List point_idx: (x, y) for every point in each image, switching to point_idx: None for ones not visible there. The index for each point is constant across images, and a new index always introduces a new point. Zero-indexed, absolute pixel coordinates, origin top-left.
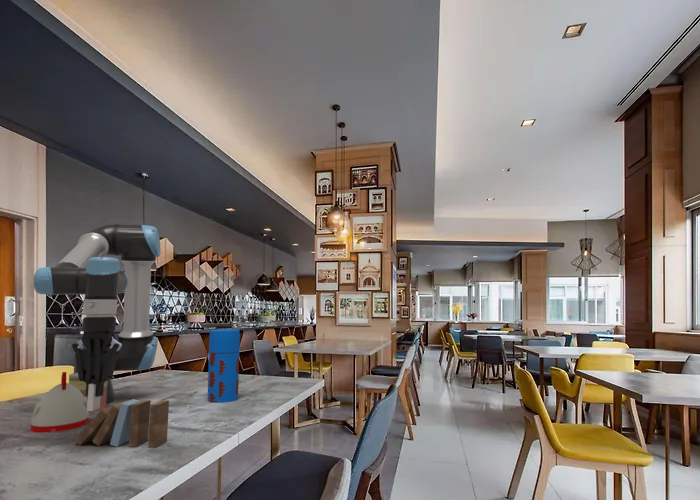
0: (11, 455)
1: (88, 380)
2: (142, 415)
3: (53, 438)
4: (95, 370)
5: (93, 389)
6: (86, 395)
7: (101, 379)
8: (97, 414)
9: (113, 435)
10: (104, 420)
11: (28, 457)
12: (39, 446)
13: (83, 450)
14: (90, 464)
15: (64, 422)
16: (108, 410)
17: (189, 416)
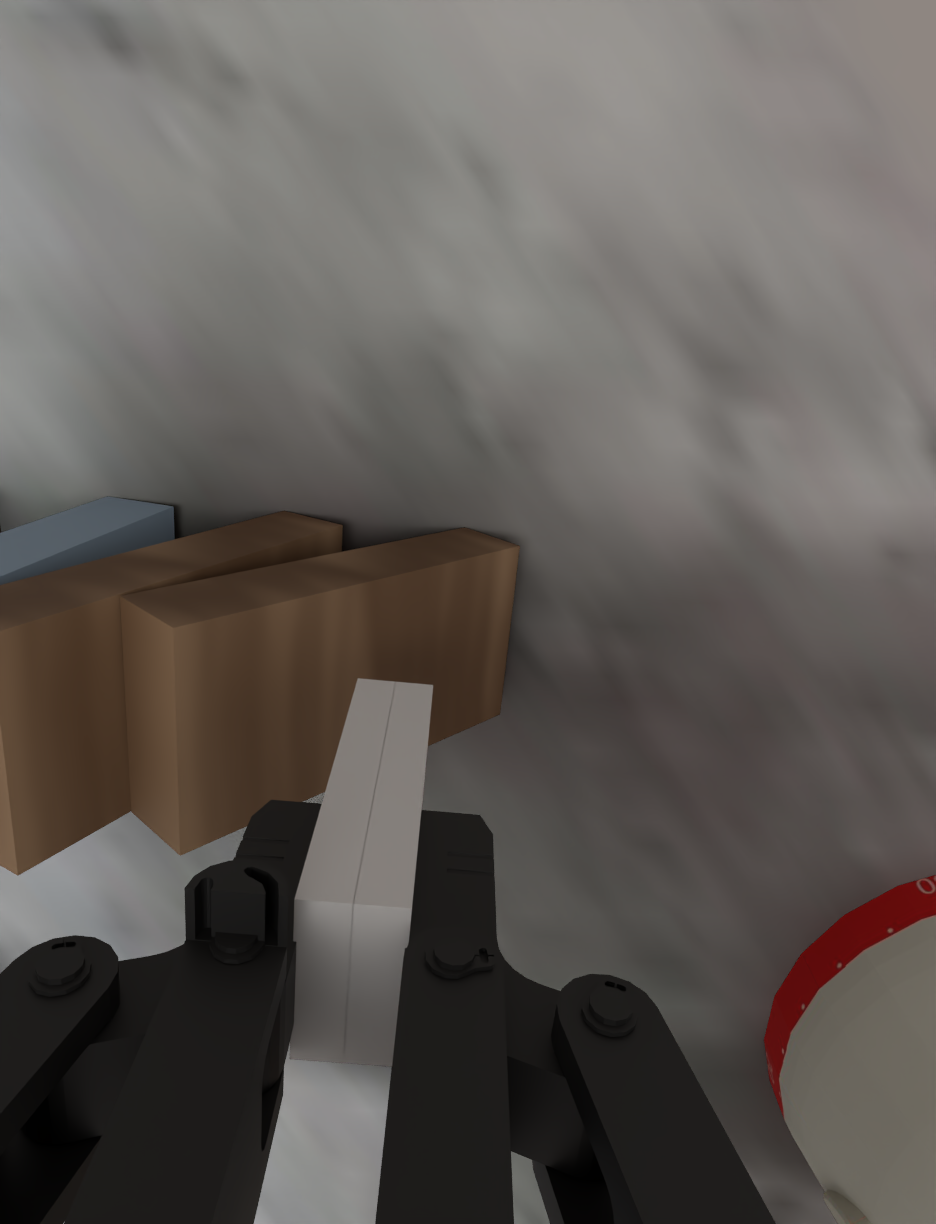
0: (928, 276)
1: (426, 971)
2: None
3: (822, 719)
4: (225, 1164)
5: (316, 837)
6: (476, 824)
7: (157, 1001)
8: (250, 608)
9: (115, 526)
10: (172, 576)
11: (733, 217)
12: (818, 517)
13: (347, 404)
14: (7, 3)
15: (885, 957)
16: (151, 684)
17: None
